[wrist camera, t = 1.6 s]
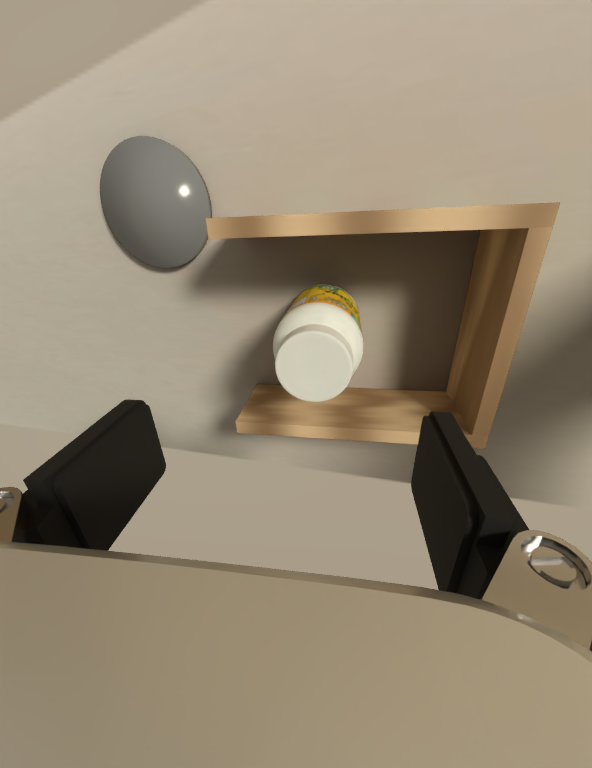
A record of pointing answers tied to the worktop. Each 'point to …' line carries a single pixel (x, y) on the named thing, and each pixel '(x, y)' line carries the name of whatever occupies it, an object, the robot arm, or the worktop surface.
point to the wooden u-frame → (475, 339)
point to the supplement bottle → (318, 343)
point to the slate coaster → (155, 201)
